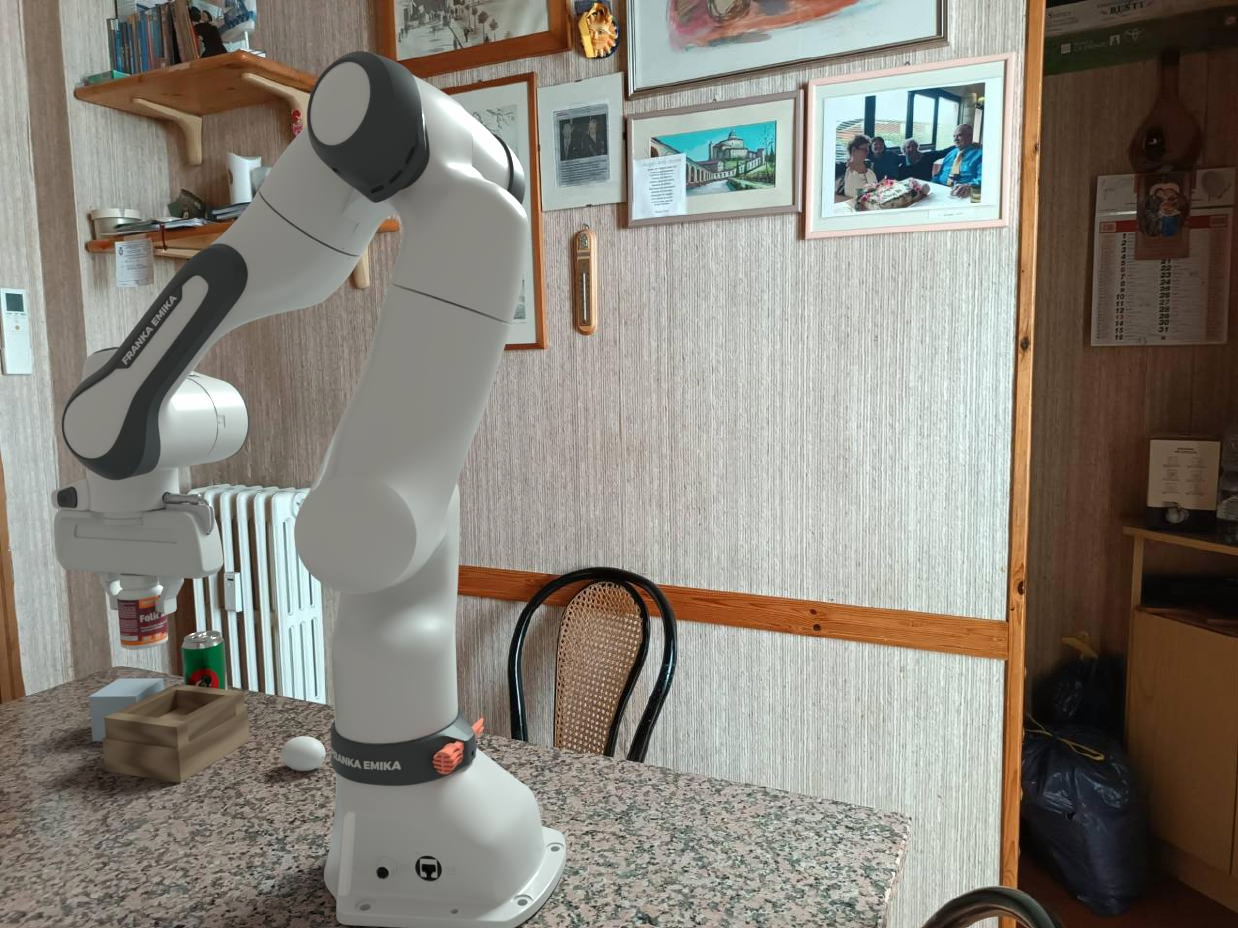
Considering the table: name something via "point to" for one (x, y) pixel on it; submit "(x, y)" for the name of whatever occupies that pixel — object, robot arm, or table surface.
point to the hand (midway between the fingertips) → (143, 610)
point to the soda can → (204, 660)
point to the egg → (303, 753)
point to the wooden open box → (175, 732)
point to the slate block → (119, 700)
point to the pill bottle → (140, 612)
